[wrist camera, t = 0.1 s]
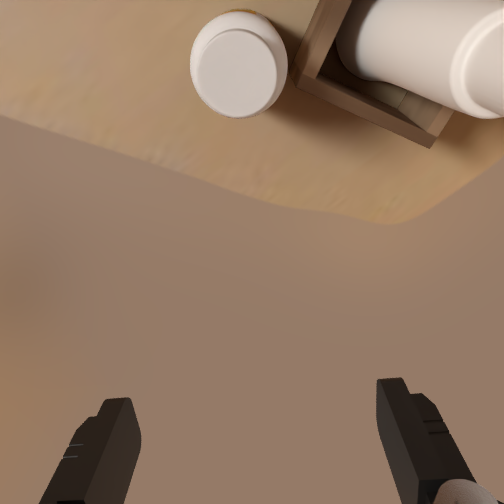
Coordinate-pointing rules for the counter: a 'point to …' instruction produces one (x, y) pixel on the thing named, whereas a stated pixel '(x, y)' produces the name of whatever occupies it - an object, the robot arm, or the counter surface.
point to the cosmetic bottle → (430, 50)
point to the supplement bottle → (239, 64)
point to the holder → (312, 81)
